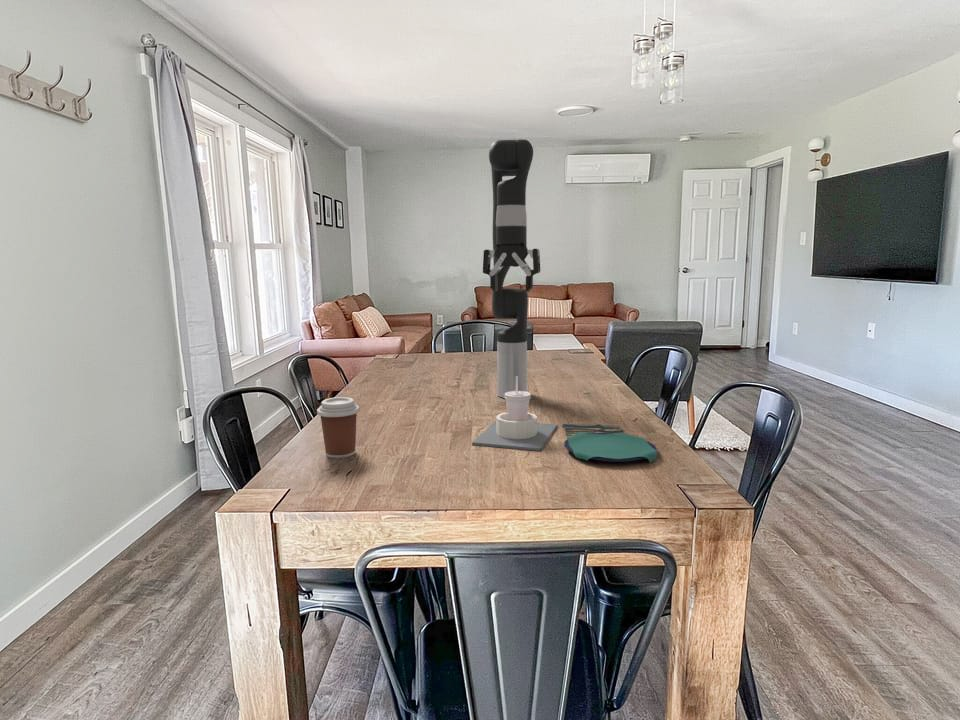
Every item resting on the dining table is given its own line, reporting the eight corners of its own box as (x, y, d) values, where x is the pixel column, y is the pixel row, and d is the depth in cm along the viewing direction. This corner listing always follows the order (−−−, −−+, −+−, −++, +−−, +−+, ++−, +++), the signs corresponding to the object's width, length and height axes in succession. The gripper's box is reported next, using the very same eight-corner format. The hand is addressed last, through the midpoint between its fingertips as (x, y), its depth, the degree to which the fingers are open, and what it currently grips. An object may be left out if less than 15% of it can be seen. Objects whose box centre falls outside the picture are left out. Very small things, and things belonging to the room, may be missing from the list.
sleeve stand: (496, 421, 152) (496, 404, 152) (557, 426, 147) (557, 409, 147) (472, 444, 134) (471, 425, 133) (540, 451, 129) (540, 431, 128)
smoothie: (499, 434, 139) (499, 376, 137) (511, 427, 145) (511, 372, 143) (523, 438, 136) (524, 379, 134) (534, 431, 142) (535, 374, 139)
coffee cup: (344, 444, 135) (341, 394, 133) (370, 452, 129) (367, 399, 127) (310, 454, 128) (307, 401, 126) (336, 463, 122) (333, 408, 120)
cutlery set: (570, 468, 118) (570, 457, 118) (554, 428, 148) (554, 420, 148) (668, 469, 118) (668, 458, 118) (632, 429, 148) (633, 420, 147)
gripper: (543, 225, 144) (542, 290, 147) (488, 226, 148) (488, 290, 151) (536, 223, 137) (535, 292, 140) (478, 225, 141) (479, 292, 144)
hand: (511, 291), depth 145 cm, fingers open, 8 cm apart
